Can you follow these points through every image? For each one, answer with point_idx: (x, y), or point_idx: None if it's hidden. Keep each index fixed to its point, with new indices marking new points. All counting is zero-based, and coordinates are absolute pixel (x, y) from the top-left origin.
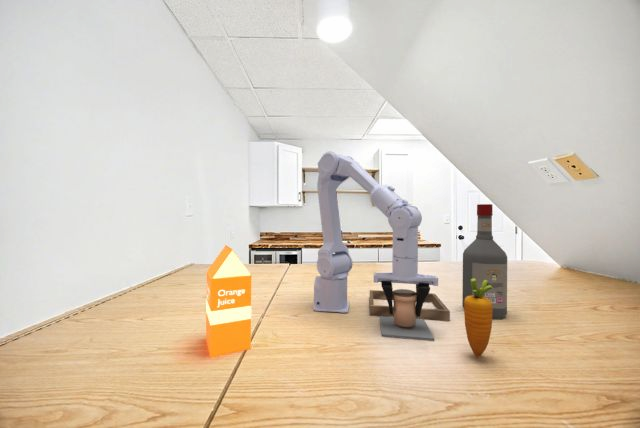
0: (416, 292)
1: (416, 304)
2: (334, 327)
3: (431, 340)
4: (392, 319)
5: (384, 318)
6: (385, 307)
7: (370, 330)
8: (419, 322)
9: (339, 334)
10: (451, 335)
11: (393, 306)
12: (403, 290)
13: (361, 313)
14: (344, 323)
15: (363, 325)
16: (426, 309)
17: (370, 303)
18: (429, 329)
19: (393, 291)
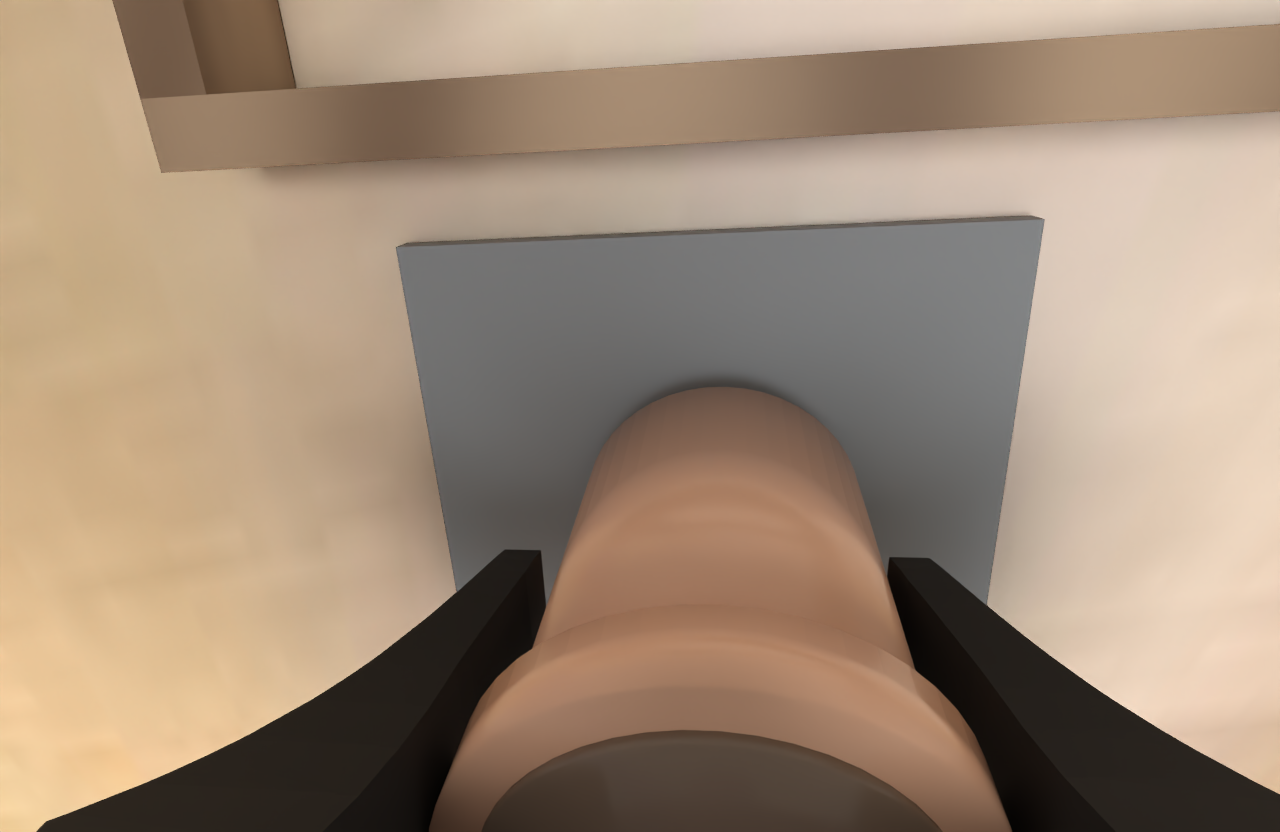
0: (1048, 828)
1: (938, 679)
2: (31, 603)
3: None
4: (575, 331)
5: (468, 321)
6: (429, 155)
7: (367, 607)
8: (932, 359)
9: (138, 720)
10: (1206, 578)
11: (567, 86)
12: (710, 817)
13: (124, 105)
14: (71, 497)
15: (272, 508)
16: (1203, 105)
17: (125, 12)
18: (993, 547)
19: (461, 815)
